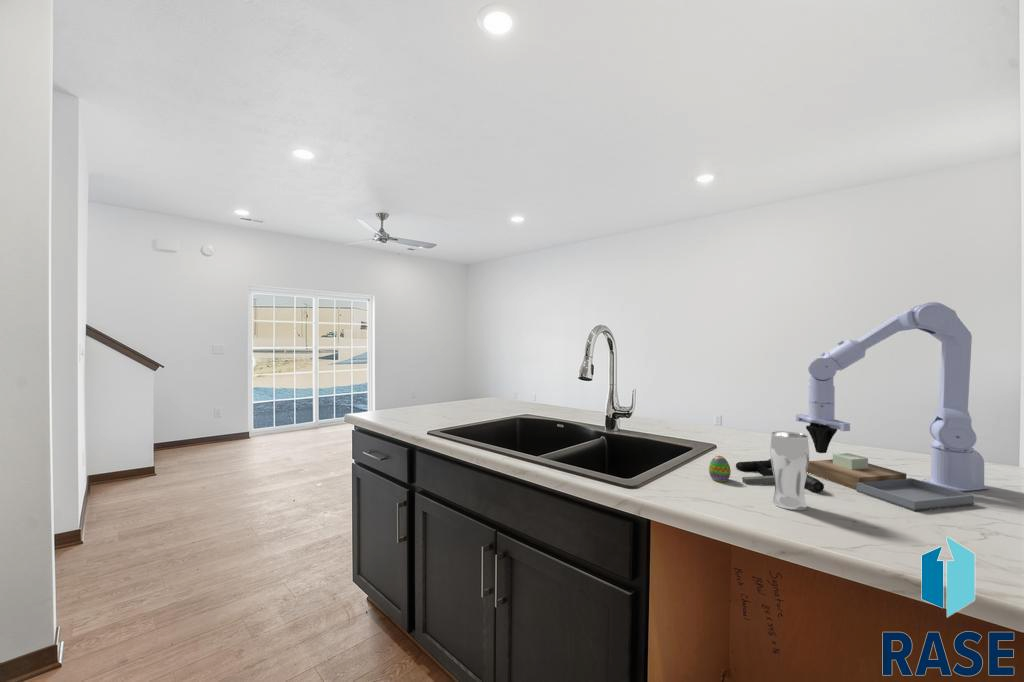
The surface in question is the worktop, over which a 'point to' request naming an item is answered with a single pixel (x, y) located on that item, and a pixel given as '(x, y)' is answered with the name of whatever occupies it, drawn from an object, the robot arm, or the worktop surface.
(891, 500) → the tray
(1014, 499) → the worktop surface
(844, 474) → the wooden cutting board
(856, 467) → the block
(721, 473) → the egg
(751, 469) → the door handle
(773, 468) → the beer glass
